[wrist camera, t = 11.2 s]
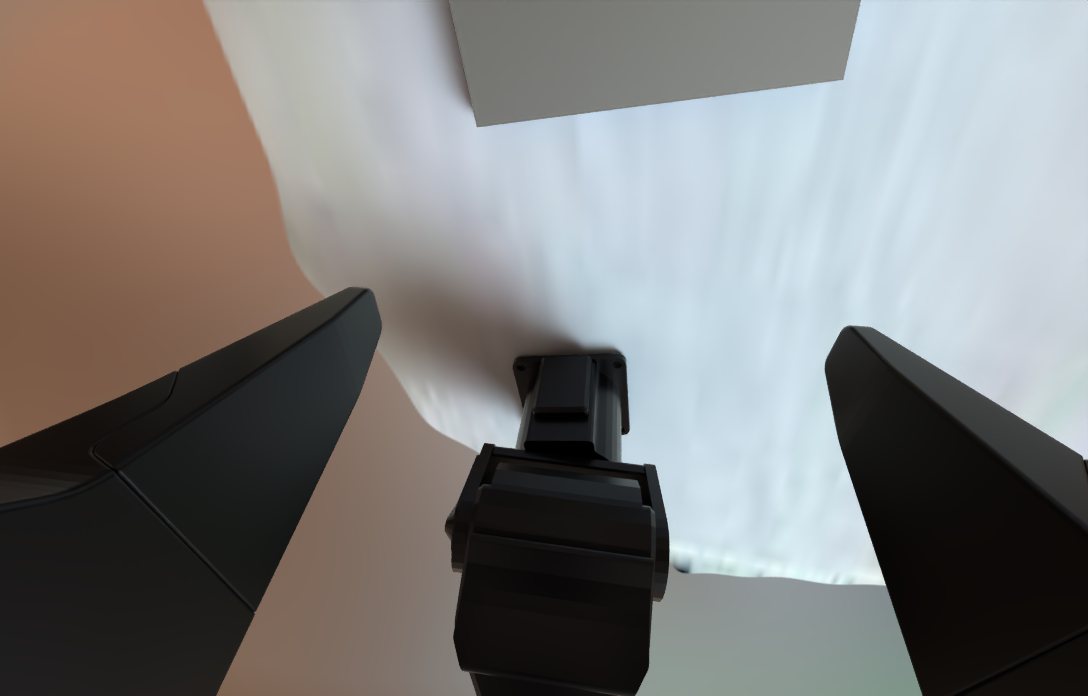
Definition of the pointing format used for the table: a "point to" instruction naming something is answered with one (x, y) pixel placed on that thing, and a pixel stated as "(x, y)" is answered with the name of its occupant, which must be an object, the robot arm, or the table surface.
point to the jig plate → (641, 51)
